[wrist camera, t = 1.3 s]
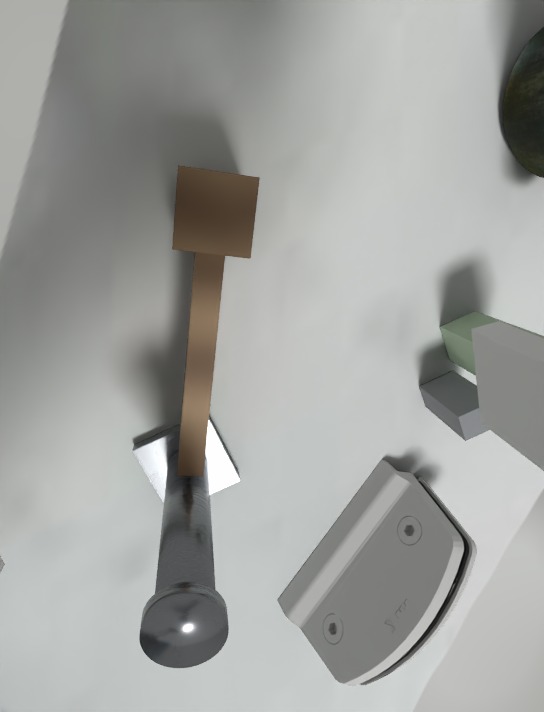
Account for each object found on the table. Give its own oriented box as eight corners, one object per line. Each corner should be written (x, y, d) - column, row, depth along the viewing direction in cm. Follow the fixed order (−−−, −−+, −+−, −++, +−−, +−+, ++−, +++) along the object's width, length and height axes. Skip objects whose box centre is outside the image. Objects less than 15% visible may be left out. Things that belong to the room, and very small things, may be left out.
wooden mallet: (217, 433, 36) (223, 492, 29) (163, 430, 36) (155, 491, 28) (243, 184, 31) (259, 177, 24) (181, 175, 31) (178, 165, 23)
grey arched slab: (384, 455, 40) (476, 546, 32) (415, 468, 42) (507, 554, 35) (274, 603, 42) (334, 721, 34) (310, 606, 45) (373, 715, 37)
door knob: (170, 505, 38) (154, 703, 23) (134, 444, 36) (91, 617, 21) (238, 473, 38) (269, 649, 23) (207, 411, 36) (217, 559, 21)
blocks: (425, 406, 39) (484, 457, 31) (404, 342, 37) (461, 378, 29) (492, 376, 39) (567, 419, 31) (474, 311, 37) (550, 338, 29)
